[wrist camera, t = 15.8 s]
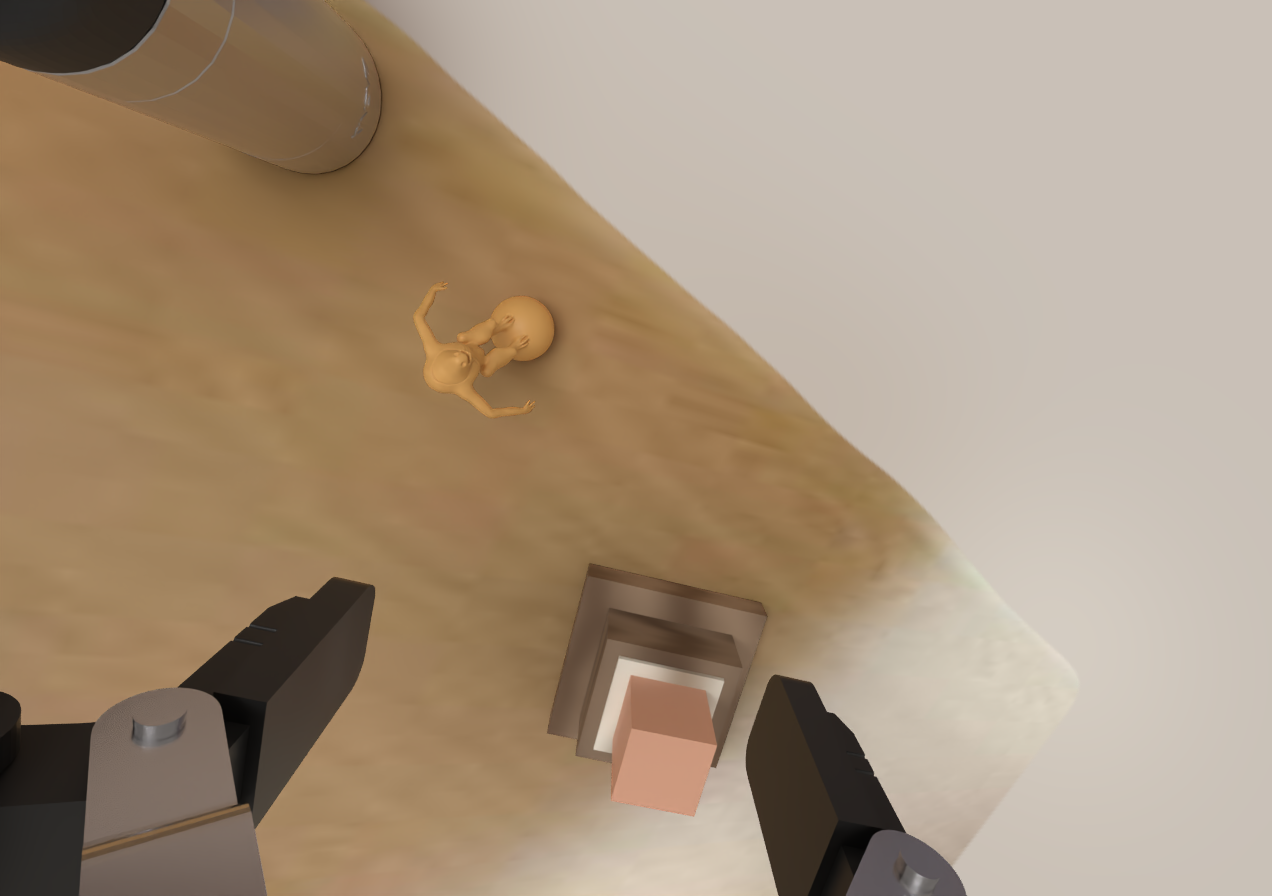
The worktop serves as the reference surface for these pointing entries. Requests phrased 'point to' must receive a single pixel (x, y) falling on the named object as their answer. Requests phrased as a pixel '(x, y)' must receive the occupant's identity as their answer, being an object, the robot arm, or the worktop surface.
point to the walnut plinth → (650, 652)
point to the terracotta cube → (662, 746)
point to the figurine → (454, 366)
